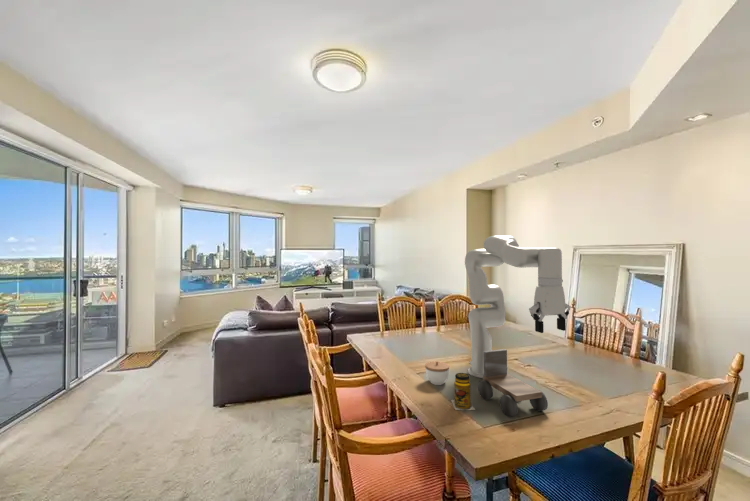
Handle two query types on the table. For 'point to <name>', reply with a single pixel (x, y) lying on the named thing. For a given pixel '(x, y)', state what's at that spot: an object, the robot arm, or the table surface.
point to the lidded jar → (437, 372)
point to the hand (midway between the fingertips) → (550, 330)
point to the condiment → (462, 392)
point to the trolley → (507, 385)
